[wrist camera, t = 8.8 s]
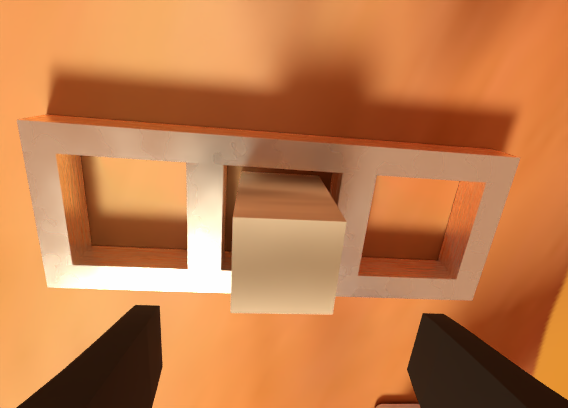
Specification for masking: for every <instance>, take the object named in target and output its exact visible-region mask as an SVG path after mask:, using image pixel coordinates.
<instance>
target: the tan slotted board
mask: <svg viewBox="0 0 568 408" xmlns="http://www.w3.org/2000/svg"><path fill="white" fill-rule="evenodd" d="M17 124H18V129H19V134H20V140H21V145H22V151H23V156H24V161H25V167H26V172H27V178H28V183H29V189H30V194H31V199H32V205H33V210H34V216H35V221H36V226H37V232H38V237H39V243H40V248H41V254H42V259H43V264H44V270H45V275H46V281H47V286H48V287H53V288H85V289H118V290H150V291H182V292H214V293H231V270H232V252H231V251H225V219H226V184H227V165H232V166H247V167H262V168H277V169H292V170H306V171H321V172H332V179H331V186H330V195H331V197H332V198H333V200H334V202H335V203H336V205H337V207H338V208H339V210H340V212H341V213H342V215H343V216H344V218H345V220H346V221H347V223H346V230H345V236H344V243H343V250H342V256H341V263H340V269H339V276H338V282H337V289H336V296H342V297H374V298H407V299H439V300H471V301H472V300H473V297H474V294H475V291H476V288H477V285H478V282H479V279H480V276H481V273H482V270H483V267H484V265H485V262H486V259H487V256H488V253H489V250H490V247H491V244H492V241H493V238H494V235H495V232H496V229H497V226H498V223H499V220H500V217H501V214H502V211H503V208H504V205H505V202H506V199H507V196H508V193H509V190H510V187H511V184H512V181H513V178H514V176H515V173H516V170H517V167H518V164H519V161H520V157H516V156H513V155H510V154H507V153H504V152H500V151H497V150H494V149H485V148H472V147H459V146H446V145H433V144H420V143H407V142H395V141H382V140H369V139H356V138H343V137H330V136H317V135H304V134H291V133H279V132H266V131H253V130H240V129H227V128H214V127H201V126H188V125H175V124H163V123H150V122H137V121H124V120H111V119H98V118H85V117H72V116H59V115H47V114H46V115H40V116H34V117H29V118H23V119H18V120H17ZM81 155H83V156H98V157H113V158H128V159H143V160H158V161H173V162H186V169H187V241H188V250H185V249H162V248H138V247H115V246H92V244H91V236H90V228H89V219H88V211H87V203H86V195H85V187H84V179H83V171H82V163H81ZM377 175H381V176H396V177H411V178H425V179H440V180H455V181H460V182H459V186H458V190H457V193H456V197H455V200H454V204H453V207H452V211H451V215H450V218H449V222H448V225H447V229H446V232H445V236H444V240H443V243H442V247H441V250H440V254H439V257H438V260H418V259H395V258H371V257H361V256H362V250H363V245H364V240H365V234H366V229H367V224H368V219H369V213H370V208H371V203H372V198H373V192H374V187H375V182H376V176H377Z"/></svg>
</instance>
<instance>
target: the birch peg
mask: <svg viewBox="0 0 568 408" xmlns="http://www.w3.org/2000/svg"><path fill="white" fill-rule="evenodd" d="M346 223H347V221H346V220H345V218H344V216H343V215H342V213H341V212H340V210H339V208H338V207H337V205H336V203H335V202H334V200H333V198H332V197H331V195H330V193H329V192H328V190H327V188H326V187H325V185H324V183H323V182H322V180H321V178H320V177H319V175H303V174H285V173H266V172H247V171H241V175H240V180H239V186H238V191H237V197H236V202H235V207H234V213H233V226H232V270H231V313H269V314H333V309H334V302H335V296H336V289H337V282H338V276H339V269H340V263H341V256H342V250H343V243H344V236H345V230H346Z"/></svg>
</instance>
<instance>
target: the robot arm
mask: <svg viewBox="0 0 568 408" xmlns="http://www.w3.org/2000/svg"><path fill="white" fill-rule="evenodd" d="M161 370H162V347H161V326H160V306H150V305H135V306H134V307H133V308H131V309H130V310H129V311H128V312H127V313H126V314H125V315H124V316H123V317H121V318H120V319H119V320H118V321H117V322H116V323H115V324H114V325H113V326H112V327H111V328H110V329H108V330H107V331H106V332H105V333H104V334H103V335H102V336H101V337H100V338H99V339H97V340H96V341H95V342H94V343H93V344H92V345H91V346H90V347H89V348H87V349H86V350H85V351H84V352H83V353H82V354H81V355H79V356H78V357H77V358H76V359H75V360H74V361H73V362H71V363H70V364H69V365H68V366H67V367H66V368H65V369H63V370H62V371H61V372H60V373H59V374H57V375H56V376H55V377H54V378H53V379H51V380H50V381H49V382H48V383H46V384H45V385H44V386H43V387H41V388H40V389H39V390H38V391H37V392H35V393H34V394H33V395H32V396H30V397H29V398H28V399H27V400H25V401H24V402H23V403H22V404H20V405H19V406H18V407H17V408H152V405H153V401H154V398H155V394H156V390H157V386H158V382H159V378H160V374H161ZM407 370H408V373H409V376H410V379H411V382H412V386H413V389H414V391H415V394H416V397H417V400H418V402H419V404H380V405H378V406H377V407H376V408H568V400H567V399H565V398H564V397H562V396H561V395H559V394H558V393H556V392H555V391H553V390H551V389H550V388H549V387H547V386H545V385H544V384H543V383H541V382H540V381H538V380H537V379H535V378H534V377H533V376H531V375H530V374H528V373H527V372H525V371H524V370H523V369H521V368H520V367H518V366H517V365H515V364H514V363H513V362H511V361H510V360H508V359H507V358H506V357H504V356H503V355H501V354H500V353H499V352H497V351H496V350H495V349H493V348H492V347H490V346H489V345H488V344H486V343H485V342H483V341H482V340H481V339H479V338H478V337H477V336H475V335H474V334H472V333H471V332H470V331H468V330H467V329H465V328H464V327H463V326H461V325H460V324H458V323H457V322H455V321H454V320H452V319H451V318H449V317H448V316H446V315H444V314H427V313H423V315H422V318H421V322H420V325H419V329H418V332H417V336H416V340H415V343H414V347H413V350H412V354H411V357H410V361H409V364H408V368H407Z"/></svg>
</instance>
